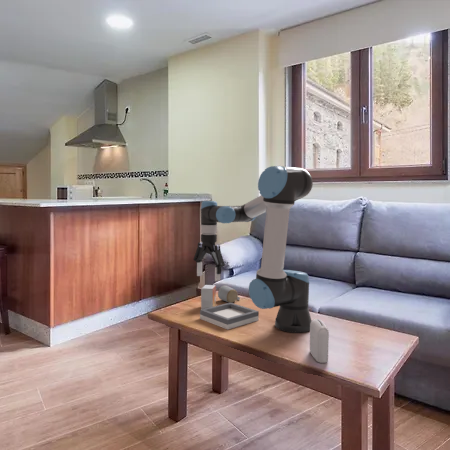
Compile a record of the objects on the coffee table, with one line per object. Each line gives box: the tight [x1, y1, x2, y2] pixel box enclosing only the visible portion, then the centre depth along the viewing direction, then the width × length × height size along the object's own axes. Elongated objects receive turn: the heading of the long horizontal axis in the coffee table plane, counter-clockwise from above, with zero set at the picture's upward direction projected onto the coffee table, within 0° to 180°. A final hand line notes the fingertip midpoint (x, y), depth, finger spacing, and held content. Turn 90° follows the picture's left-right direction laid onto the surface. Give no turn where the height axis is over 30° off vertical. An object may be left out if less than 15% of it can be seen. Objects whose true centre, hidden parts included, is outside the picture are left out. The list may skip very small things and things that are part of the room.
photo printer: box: [309, 318, 330, 364], centre depth 128 cm, size 10×4×12 cm, turn 3°
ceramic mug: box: [217, 284, 241, 303], centre depth 196 cm, size 11×8×8 cm
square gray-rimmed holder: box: [199, 302, 260, 330], centre depth 166 cm, size 18×18×4 cm
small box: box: [200, 284, 217, 310], centre depth 183 cm, size 8×6×10 cm
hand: (208, 278), depth 182 cm, fingers open, 13 cm apart
